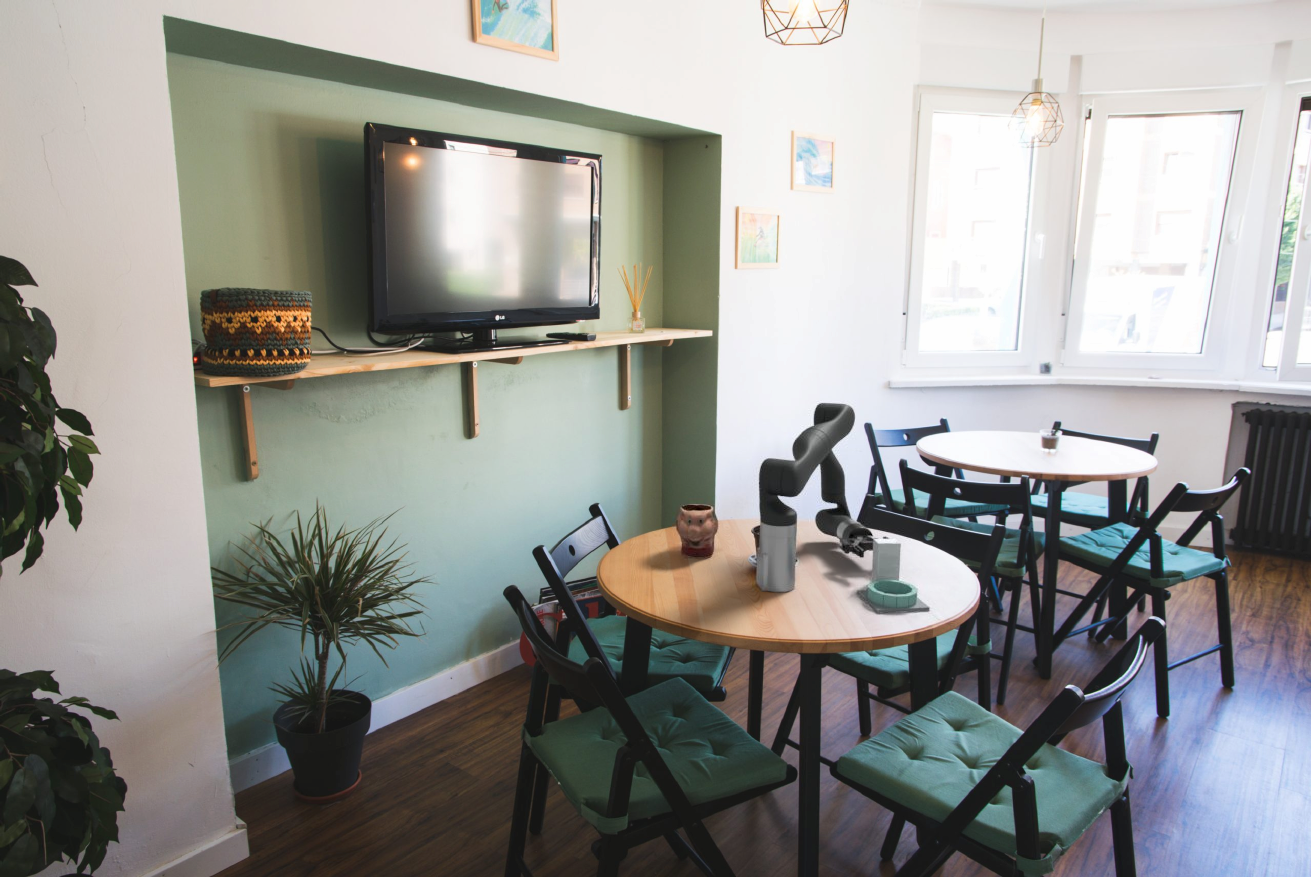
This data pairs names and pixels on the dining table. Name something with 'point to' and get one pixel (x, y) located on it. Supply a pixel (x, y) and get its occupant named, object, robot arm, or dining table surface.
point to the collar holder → (892, 597)
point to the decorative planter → (697, 530)
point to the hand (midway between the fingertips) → (878, 553)
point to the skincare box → (886, 559)
